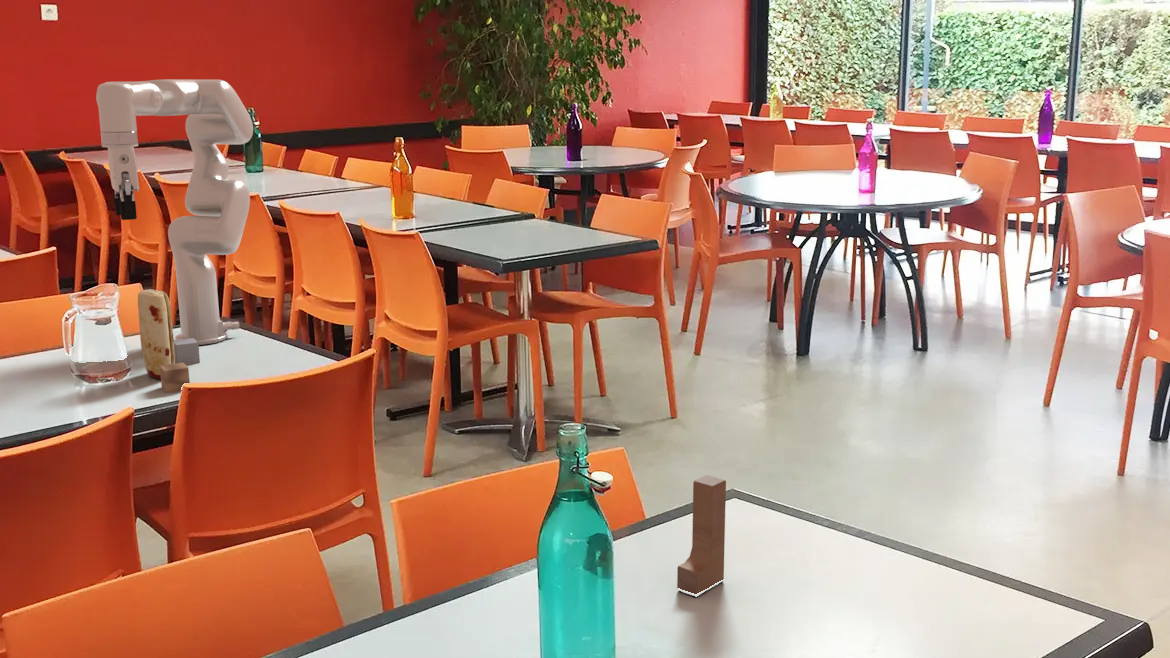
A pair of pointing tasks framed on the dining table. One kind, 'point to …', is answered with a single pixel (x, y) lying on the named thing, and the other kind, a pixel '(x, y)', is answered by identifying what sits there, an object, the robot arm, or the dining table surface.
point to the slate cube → (186, 351)
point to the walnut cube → (174, 376)
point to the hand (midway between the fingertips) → (126, 217)
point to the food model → (155, 330)
